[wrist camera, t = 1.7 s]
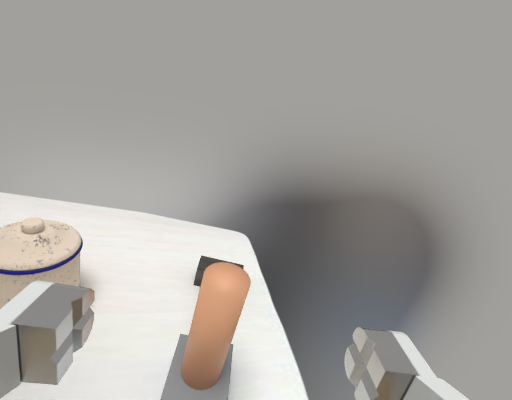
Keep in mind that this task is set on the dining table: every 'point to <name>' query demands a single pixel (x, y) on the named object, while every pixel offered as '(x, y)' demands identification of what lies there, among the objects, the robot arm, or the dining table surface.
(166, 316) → the dining table surface
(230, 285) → the slider with handle
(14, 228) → the teacup with lid
